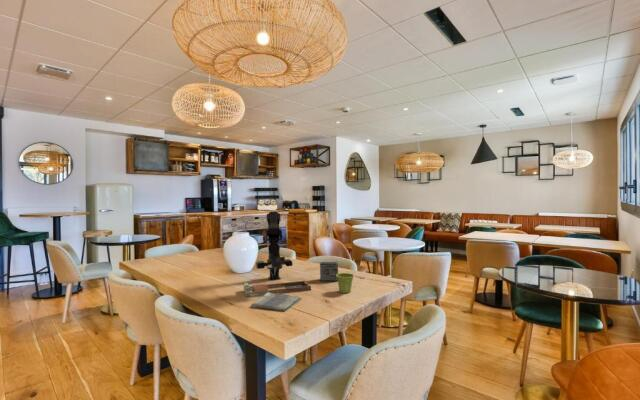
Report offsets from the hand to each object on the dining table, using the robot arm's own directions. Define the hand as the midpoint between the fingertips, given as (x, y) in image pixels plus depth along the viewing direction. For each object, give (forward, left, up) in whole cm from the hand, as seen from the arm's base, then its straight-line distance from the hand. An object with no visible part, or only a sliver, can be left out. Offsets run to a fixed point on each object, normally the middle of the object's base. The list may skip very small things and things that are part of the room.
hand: (274, 279), depth 169 cm
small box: (-9, +34, -6) cm, 36 cm away
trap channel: (0, +2, -6) cm, 6 cm away
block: (+1, -8, -6) cm, 10 cm away
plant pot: (+15, +34, -6) cm, 38 cm away
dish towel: (+20, -2, -7) cm, 21 cm away
